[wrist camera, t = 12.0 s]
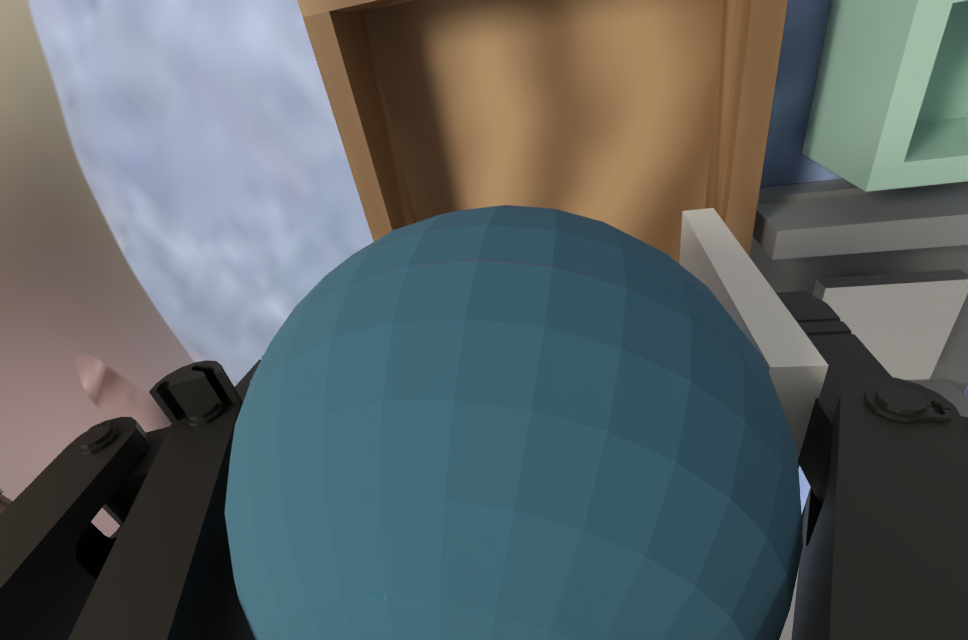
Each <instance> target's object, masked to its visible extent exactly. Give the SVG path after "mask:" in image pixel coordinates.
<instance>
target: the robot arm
mask: <svg viewBox="0 0 968 640" xmlns="http://www.w3.org/2000/svg"><path fill="white" fill-rule="evenodd" d="M372 243H373V242H372ZM679 264H680V265H681V266H682V267H684V268H685V269H686V270H687V271H689V272H690V273H691V274H692V275H694V276H695V277H696V278H697V279H699V280H700V281H701V282H702V283H704V284H705V285H706V286H707V287H708V288H709V289H710V290H711V291H712V293H713V294H714V295H715V297H716V298H717V299H718V300H719V302H720V303H721V304H722V306H723V307H724V308H725V309H726V311H727V312H728V313H729V315H730V316H731V317H732V318H733V320H734V321H735V322H736V324H737V325H738V326H739V327H740V329H741V330H742V331H743V333H744V334H745V335H746V337H747V338H748V339H749V340H750V342H751V343H752V344H753V346H754V347H755V348H756V350H757V351H758V352H759V353H760V355H761V356H762V358H763V360H764V363H765V365H766V368H767V370H768V372H769V375H770V377H771V380H772V382H773V385H774V387H775V390H776V392H777V395H778V397H779V400H780V402H781V405H782V408H783V411H784V413H785V416H786V419H787V422H788V424H789V427H790V430H791V433H792V435H793V438H794V441H795V443H796V446H797V457H798V469H799V465H800V467H801V469H802V471H803V473H804V475H805V477H806V479H807V480H808V482H809V484H810V486H811V488H810V491H809V494H808V497H807V500H806V503H805V506H804V510H803V513H802V516H801V517H802V532H803V533H802V535H803V548H802V553H801V558H800V563H799V572H798V583H797V592H796V601H795V611H794V622H793V631H792V640H968V417H964V416H961V415H960V414H959V412H958V410H957V408H956V407H955V406H954V405H953V404H952V403H951V402H949V401H948V400H947V399H946V398H944V397H943V396H942V395H940V394H939V393H937V392H935V391H933V390H931V389H928V388H926V387H924V386H922V385H920V384H917V383H914V382H910V381H906V380H903V379H899V378H894V377H892V376H891V375H890V374H889V373H888V372H887V370H886V369H885V368H884V367H883V366H882V365H881V364H880V362H879V361H878V360H877V359H876V358H875V357H874V356H873V355H872V353H871V352H870V351H869V350H868V349H867V348H866V347H865V345H864V344H863V343H862V342H861V341H860V340H859V339H858V338H857V336H856V335H855V334H852V333H851V332H852V331H851V330H850V329H849V327H848V326H847V325H846V324H845V323H844V322H843V321H840V317H839V316H838V315H837V314H836V313H835V312H834V310H833V309H832V308H831V307H830V306H829V305H828V304H827V303H826V302H824V301H822V300H820V299H819V298H817V297H815V296H813V295H811V294H809V293H807V292H806V291H794V292H777V293H775V291H774V290H773V289H772V287H771V286H770V285H769V283H768V282H767V281H766V279H765V278H764V276H763V275H762V274H761V272H760V271H759V270H758V268H757V267H756V265H755V264H754V263H753V261H752V260H751V259H750V257H749V256H748V255H747V253H746V252H745V250H744V249H743V248H742V246H741V245H740V244H739V242H738V241H737V239H736V238H735V237H734V235H733V234H732V233H731V231H730V230H729V228H728V227H727V226H726V224H725V223H724V222H723V220H722V219H721V218H720V216H719V215H718V213H717V212H716V211H715V209H714V208H707V209H697V210H687V211H682V227H681V243H680V259H679ZM263 356H264V355H263ZM262 358H263V357H262ZM260 362H261V360H259V361H258V362H257V363H256V364H255V365H254V366H253V368H252V369H251V370H250V371H249V372H248V373H247V374H246V375H245V376H244V377H243V379H242V380H241V381H240V382H239V383H238V384H237V385H236V386H235V387H234V386H233V384H232V383H231V381H230V379H229V378H228V376H227V374H226V373H225V371H224V369H223V368H222V366H221V365H220V364H219V363H218V362H217V361H208V360H207V361H201V362H195V363H192V364H190V365H187V366H184V367H181V368H179V369H178V370H176V371H174V372H172V373H170V374H168V375H167V376H165V377H164V378H163V379H161V380H160V381H159V382H158V383H156V384H155V386H154V387H153V388H152V389H151V390H150V391H149V393H150V394H151V395H152V397H153V398H154V399H155V401H156V402H157V404H158V405H159V406H160V408H161V409H162V410H163V412H164V413H165V415H166V416H167V417H168V419H169V420H170V421H171V423H172V424H171V426H170V427H167V428H163V429H159V430H155V431H151V432H147V433H145V431H144V430H143V429H142V427H141V426H140V425H139V424H138V422H137V421H136V420H134V419H133V418H131V417H119V418H115V419H112V420H107V421H104V422H101V423H100V424H97V425H95V426H93V427H91V428H90V429H89V430H88V431H87V432H85V433H83V434H81V435H80V436H79V437H77V438H76V439H75V440H74V441H73V442H72V443H71V444H69V445H68V446H67V447H66V448H65V449H64V450H63V451H62V452H61V453H60V454H59V455H58V456H57V457H56V458H55V459H54V460H53V461H52V462H51V463H50V464H49V465H48V466H47V467H46V468H45V469H44V470H43V471H42V472H41V474H40V475H39V476H37V478H36V479H35V480H34V481H33V482H32V483H31V484H30V485H29V486H28V487H27V488H26V489H25V490H24V491H23V492H22V493H21V494H20V495H19V496H18V497H17V498H16V499H15V500H14V501H12V500H10V499H9V498H7V497H5V496H4V495H2V493H3V491H2V490H1V489H0V640H255V638H254V635H253V633H252V630H251V628H250V626H249V623H248V621H247V618H246V616H245V614H244V611H243V609H242V606H241V604H240V602H239V599H238V595H237V590H236V585H235V580H234V575H233V568H232V561H231V554H230V547H229V540H228V534H227V527H226V520H225V503H226V494H227V484H228V474H229V464H230V455H231V449H232V442H233V436H234V429H235V423H236V421H237V418H238V415H239V413H240V410H241V407H242V404H243V402H244V399H245V396H246V393H247V391H248V388H249V385H250V383H251V380H252V377H253V375H254V373H255V371H256V369H257V367H258V365H259V363H260ZM101 508H103V509H104V510H105V511H106V512H107V513H108V514H109V515H110V516H111V517H112V518H113V519H114V520H115V521H116V522H117V523H118V524H119V525H120V527H119V528H118V529H117V531H116V532H115V533H114V534H113V535H112V536H111V537H107V536H105V535H104V534H102V532H101V531H100V530H98V529H97V528H96V527H95V526H94V525H93V524H92V523H91V521H92V519H93V518H94V517H95V515H96V514H97V513H98V512H99V510H100V509H101Z"/></svg>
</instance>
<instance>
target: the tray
mask: <svg viewBox="0 0 968 640" xmlns="http://www.w3.org/2000/svg"><path fill="white" fill-rule="evenodd" d="M298 3H299V7H300V10H301V13H302V16H303V19H304V22H305V26H306V29H307V32H308V35H309V38H310V41H311V45H312V48H313V51H314V54H315V57H316V60H317V64H318V67H319V70H320V73H321V76H322V79H323V83H324V86H325V89H326V92H327V95H328V98H329V102H330V105H331V108H332V111H333V114H334V117H335V120H336V124H337V127H338V130H339V133H340V136H341V139H342V143H343V146H344V149H345V152H346V155H347V158H348V162H349V165H350V168H351V171H352V174H353V177H354V181H355V184H356V187H357V190H358V193H359V196H360V200H361V203H362V206H363V209H364V212H365V215H366V219H367V222H368V225H369V228H370V231H371V234H372V238H373V241H374V242H375V241H376V240H378V239H380V238H381V237H383V236H385V235H386V234H388V233H389V232H391V231H393V230H396V229H399V228H402V227H405V226H408V225H411V224H414V223H417V222H420V221H423V220H426V219H429V218H432V217H435V216H438V215H441V214H445V213H449V212H454V211H458V210H467V209H475V208H484V207H492V206H501V205H513V206H526V207H539V208H552V209H558V210H562V211H565V212H569V213H573V214H576V215H580V216H584V217H587V218H591V219H595V220H598V221H602V222H605V223H607V224H609V225H611V226H613V227H615V228H617V229H619V230H621V231H623V232H625V233H627V234H629V235H631V236H633V237H635V238H637V239H639V240H641V241H643V242H645V243H647V244H649V245H651V246H653V247H655V248H656V249H658V250H660V251H662V252H664V253H666V254H667V255H669V256H670V257H671V258H672V259H674V260H675V261H676V262H677V263H679V259H680V243H681V227H682V211H687V210H697V209H707V208H714V209H715V211H716V212H717V213H718V215H719V216H720V218H721V219H722V220H723V222H724V223H725V224H726V226H727V227H728V228H729V230H730V231H731V233H732V234H733V235H734V237H735V238H736V239H737V241H738V242H739V244H740V245H741V246H742V248H743V249H744V250H745V252H746V253H747V255H748V256H749V257H750V250H751V244H752V237H753V230H754V224H755V217H756V210H757V204H758V197H759V190H760V184H761V177H762V171H763V164H764V157H765V151H766V144H767V137H768V131H769V124H770V117H771V111H772V104H773V97H774V91H775V84H776V77H777V71H778V64H779V58H780V51H781V44H782V38H783V31H784V24H785V18H786V11H787V4H788V0H298Z"/></svg>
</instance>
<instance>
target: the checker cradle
mask: <svg viewBox="0 0 968 640" xmlns="http://www.w3.org/2000/svg"><path fill="white" fill-rule="evenodd" d="M750 259H751V260H752V261H753V263H754V264H755V265H756V267H757V268H758V270H759V271H760V272H761V274H762V275H763V276H764V278H765V279H766V281H767V282H768V283H769V285H770V286H771V287H772V289H773V290H774V291H775V293H777V292H794V291H806V292H807V293H809V294H811V295H813V291H814V287H815V283H816V279H820V278H834V277H849V276H864V275H879V274H893V273H908V272H923V271H938V270H953V269H960V270H961V271H963V272H964V273H966V274H967V275H968V181H965V182H955V183H945V184H936V185H926V186H916V187H906V188H897V189H887V190H877V191H867V192H866V191H864V190H862V189H860V188H859V187H857V186H855V185H854V184H852V183H850V182H849V181H847V180H845V179H834V180H825V181H816V182H807V183H798V184H788V185H779V186H770V187H761V188H760V190H759V197H758V204H757V210H756V217H755V224H754V230H753V237H752V244H751V250H750ZM906 381H910V382H914V383H917V384H920V385H922V386H924V387H926V388H928V389H931V390H933V391H935V392H937V393H939V394H940V395H942V396H943V397H944V398H946V399H947V400H948V401H949V402H951V403H952V404H953V405H954V406H955V407H956V408H957V410H958V412H959V414H960V415H961V416H964V417H968V398H967V397H966V396H965V395H964V394H963V392H964V390H965V388H966V386H967V384H968V294H967V296H966V298H965V301H964V303H963V305H962V307H961V310H960V312H959V314H958V316H957V319H956V321H955V323H954V325H953V328H952V330H951V332H950V334H949V337H948V339H947V341H946V343H945V346H944V348H943V350H942V352H941V355H940V357H939V359H938V361H937V364H936V366H935V368H934V370H933V373H932V375H931V377H930V379H921V380H906Z"/></svg>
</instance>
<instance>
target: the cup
mask: <svg viewBox="0 0 968 640" xmlns="http://www.w3.org/2000/svg"><path fill="white" fill-rule="evenodd" d="M802 154H803V155H804V156H806V157H808V158H810V159H811V160H813V161H815V162H816V163H818V164H820V165H821V166H823V167H825V168H827V169H828V170H830V171H832V172H833V173H835V174H837V175H838V176H840V177H842V178H843V179H845V180H847V181H849V182H850V183H852V184H854V185H855V186H857V187H859V188H860V189H862V190H864V191H866V192H867V191H877V190H887V189H897V188H906V187H916V186H926V185H936V184H945V183H955V182H965V181H968V0H831V4H830V9H829V14H828V20H827V25H826V30H825V35H824V40H823V46H822V51H821V56H820V61H819V67H818V72H817V77H816V82H815V88H814V93H813V98H812V103H811V108H810V114H809V119H808V124H807V129H806V135H805V140H804V145H803V150H802Z"/></svg>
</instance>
